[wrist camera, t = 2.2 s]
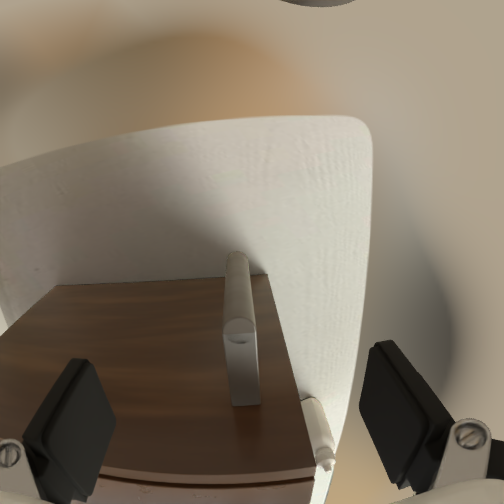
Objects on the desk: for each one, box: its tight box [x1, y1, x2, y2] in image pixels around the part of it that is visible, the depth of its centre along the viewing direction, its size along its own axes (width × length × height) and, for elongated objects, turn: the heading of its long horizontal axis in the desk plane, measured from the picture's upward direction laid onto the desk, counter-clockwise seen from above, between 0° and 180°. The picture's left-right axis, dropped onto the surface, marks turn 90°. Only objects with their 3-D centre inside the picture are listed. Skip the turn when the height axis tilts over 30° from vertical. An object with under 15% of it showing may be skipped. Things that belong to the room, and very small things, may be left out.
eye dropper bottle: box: [301, 397, 336, 473], centre depth 36 cm, size 4×6×12 cm
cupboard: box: [71, 474, 315, 504], centre depth 26 cm, size 18×26×24 cm
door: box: [0, 251, 317, 484], centre depth 22 cm, size 7×26×24 cm, turn 93°
